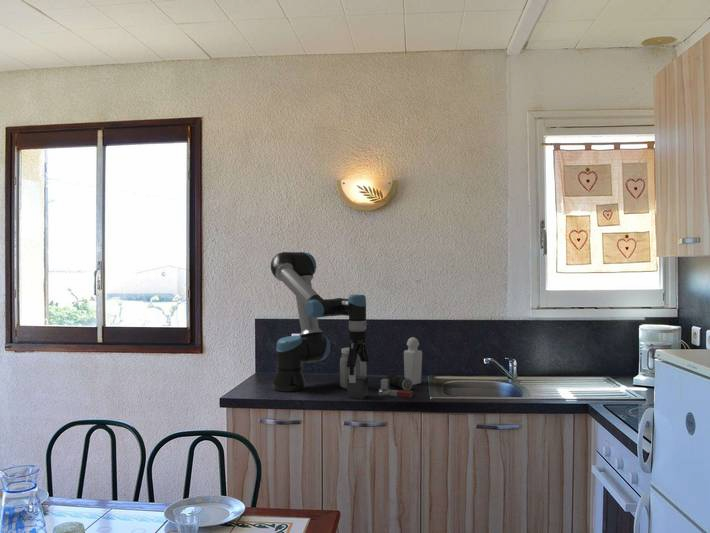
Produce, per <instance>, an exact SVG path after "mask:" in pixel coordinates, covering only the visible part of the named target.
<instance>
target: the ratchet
mask: <svg viewBox="0 0 710 533" xmlns="http://www.w3.org/2000/svg"><path fill="white" fill-rule="evenodd" d="M377 392H378V393H377V395H378V396H381V397H397V398H398V397H399V398H409V399H411V398H412V397H413V396H414V391H413V390H403V389H399V390H398V389H392V388H390V384H389V379H386V378H382V379H380V388H379V389H378V390H377Z"/></svg>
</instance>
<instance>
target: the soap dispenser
mask: <svg viewBox="0 0 710 533" xmlns="http://www.w3.org/2000/svg"><path fill="white" fill-rule="evenodd" d="M406 346H407V349H405V350H404V351H403V365H404V366H403V368H404V369H403V370H404V371H403V372H404V378H408V379H410V380H411V381H412V386H413V385H418V384H422V366H423V351H422V350H419V349H418V348H419V346H420V342H419V340H418V339H417V337H414V336H412V337H410V338H408V339H407V342H406Z"/></svg>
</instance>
